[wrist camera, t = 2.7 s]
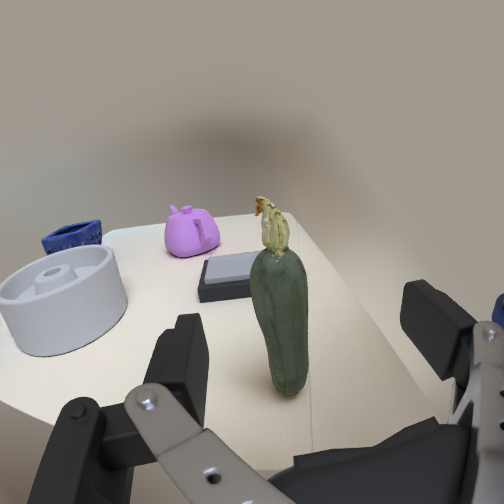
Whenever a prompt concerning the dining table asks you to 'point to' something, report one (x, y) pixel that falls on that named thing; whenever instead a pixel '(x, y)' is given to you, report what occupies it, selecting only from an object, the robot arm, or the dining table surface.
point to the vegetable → (281, 301)
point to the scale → (226, 277)
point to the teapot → (190, 232)
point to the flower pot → (73, 236)
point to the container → (63, 300)
